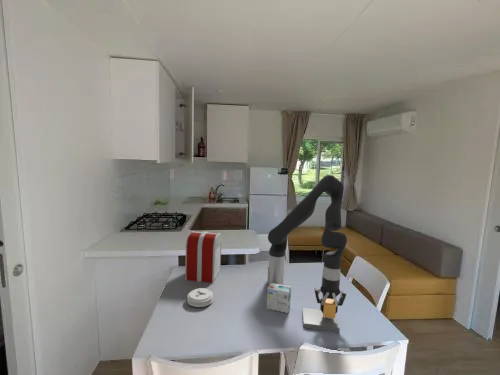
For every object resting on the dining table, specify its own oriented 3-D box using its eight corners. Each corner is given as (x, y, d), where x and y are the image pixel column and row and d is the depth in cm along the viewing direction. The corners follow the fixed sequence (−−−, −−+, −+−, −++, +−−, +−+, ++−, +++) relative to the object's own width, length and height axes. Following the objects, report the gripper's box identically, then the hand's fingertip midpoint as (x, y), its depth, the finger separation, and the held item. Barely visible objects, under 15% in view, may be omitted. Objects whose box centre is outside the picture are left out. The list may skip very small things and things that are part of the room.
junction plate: (303, 327, 113) (303, 323, 113) (302, 311, 125) (302, 307, 125) (339, 332, 111) (339, 327, 111) (334, 315, 123) (334, 311, 123)
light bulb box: (290, 306, 129) (291, 285, 128) (287, 314, 123) (289, 292, 122) (269, 302, 133) (270, 281, 132) (266, 309, 126) (267, 287, 125)
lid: (199, 292, 139) (199, 283, 139) (218, 299, 133) (218, 290, 133) (182, 303, 128) (182, 294, 128) (201, 311, 122) (202, 301, 122)
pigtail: (325, 319, 116) (326, 309, 116) (325, 316, 119) (325, 307, 118) (330, 320, 116) (331, 310, 116) (330, 317, 118) (330, 307, 118)
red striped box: (194, 268, 169) (195, 228, 166) (220, 271, 166) (222, 230, 164) (184, 280, 153) (185, 235, 150) (213, 283, 150) (214, 237, 147)
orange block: (322, 310, 120) (322, 298, 119) (333, 311, 119) (334, 299, 119) (323, 316, 115) (324, 304, 114) (335, 318, 114) (336, 305, 114)
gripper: (346, 274, 118) (343, 309, 120) (313, 270, 120) (311, 305, 122) (349, 281, 110) (346, 319, 112) (315, 278, 113) (312, 315, 114)
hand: (328, 312), depth 117 cm, fingers closed on orange block, 4 cm apart
